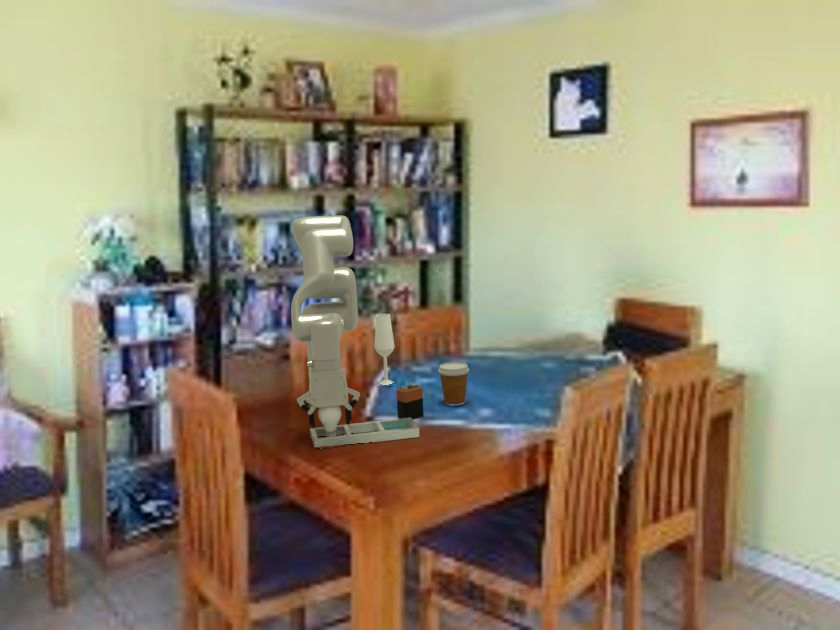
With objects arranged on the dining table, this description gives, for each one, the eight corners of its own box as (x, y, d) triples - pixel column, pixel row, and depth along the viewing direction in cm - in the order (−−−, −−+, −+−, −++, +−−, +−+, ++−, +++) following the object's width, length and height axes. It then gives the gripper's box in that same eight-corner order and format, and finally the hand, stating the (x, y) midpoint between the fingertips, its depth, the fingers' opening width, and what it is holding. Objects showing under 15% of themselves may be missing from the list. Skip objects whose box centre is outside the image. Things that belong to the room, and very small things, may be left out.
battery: (424, 416, 254) (422, 383, 252) (406, 421, 250) (404, 388, 248) (415, 413, 258) (413, 381, 256) (397, 418, 254) (395, 385, 252)
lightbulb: (333, 435, 240) (330, 397, 238) (347, 440, 236) (345, 401, 234) (315, 441, 236) (312, 402, 234) (329, 446, 232) (327, 407, 230)
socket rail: (310, 437, 240) (310, 428, 239) (411, 425, 246) (410, 417, 246) (314, 449, 230) (314, 440, 230) (419, 437, 236) (418, 428, 236)
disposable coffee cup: (439, 408, 261) (438, 370, 259) (439, 399, 271) (437, 362, 268) (471, 407, 261) (470, 368, 259) (469, 398, 271) (468, 361, 268)
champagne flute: (398, 382, 293) (395, 313, 288) (393, 387, 286) (390, 317, 282) (379, 381, 294) (376, 313, 290) (374, 387, 288) (370, 316, 283)
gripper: (295, 370, 226) (300, 432, 230) (360, 364, 230) (364, 425, 233) (293, 364, 234) (297, 424, 237) (356, 358, 237) (359, 417, 241)
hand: (330, 425), depth 235 cm, fingers open, 9 cm apart
